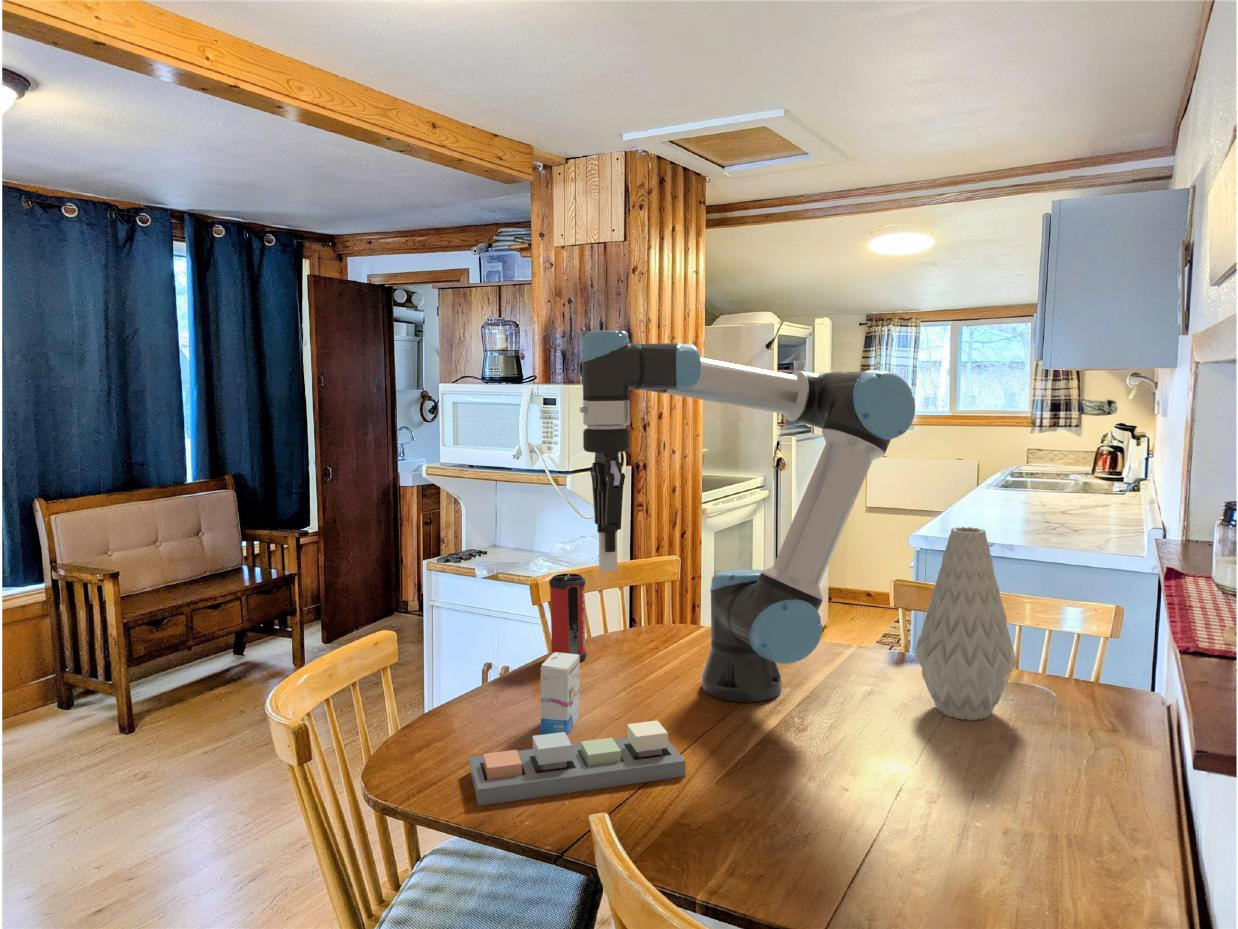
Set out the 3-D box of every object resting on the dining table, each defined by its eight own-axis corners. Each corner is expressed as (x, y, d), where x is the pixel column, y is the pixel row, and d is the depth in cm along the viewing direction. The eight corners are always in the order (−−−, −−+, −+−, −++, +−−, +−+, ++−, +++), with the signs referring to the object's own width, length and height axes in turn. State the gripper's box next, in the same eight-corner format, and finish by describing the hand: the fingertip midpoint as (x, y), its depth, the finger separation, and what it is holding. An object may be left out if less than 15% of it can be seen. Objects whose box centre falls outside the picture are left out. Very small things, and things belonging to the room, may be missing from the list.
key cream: (657, 742, 137) (657, 720, 136) (667, 755, 132) (667, 732, 132) (627, 746, 135) (627, 724, 135) (636, 759, 131) (636, 736, 130)
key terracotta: (517, 772, 131) (516, 749, 130) (522, 787, 126) (521, 763, 126) (483, 776, 129) (483, 753, 129) (488, 792, 125) (487, 768, 124)
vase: (960, 688, 165) (964, 518, 162) (1035, 718, 150) (1042, 532, 147) (893, 703, 158) (896, 526, 154) (964, 736, 143) (970, 541, 140)
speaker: (554, 652, 190) (552, 572, 188) (588, 653, 189) (587, 572, 187) (547, 663, 182) (545, 580, 180) (583, 664, 181) (582, 580, 179)
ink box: (568, 736, 145) (567, 668, 144) (539, 734, 146) (538, 666, 145) (580, 717, 153) (579, 652, 152) (553, 715, 154) (552, 650, 153)
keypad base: (662, 746, 140) (662, 732, 140) (685, 776, 130) (685, 760, 129) (470, 772, 132) (469, 757, 132) (478, 805, 121) (477, 789, 121)
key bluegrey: (565, 754, 133) (564, 731, 132) (572, 768, 128) (571, 745, 127) (533, 758, 131) (532, 735, 131) (538, 772, 126) (538, 749, 126)
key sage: (612, 759, 135) (611, 737, 134) (620, 773, 130) (620, 750, 130) (581, 763, 133) (580, 741, 133) (588, 778, 129) (588, 754, 128)
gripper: (574, 425, 145) (577, 563, 147) (593, 429, 132) (595, 580, 135) (617, 424, 147) (619, 560, 149) (640, 428, 134) (641, 577, 137)
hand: (608, 570), depth 142 cm, fingers closed
